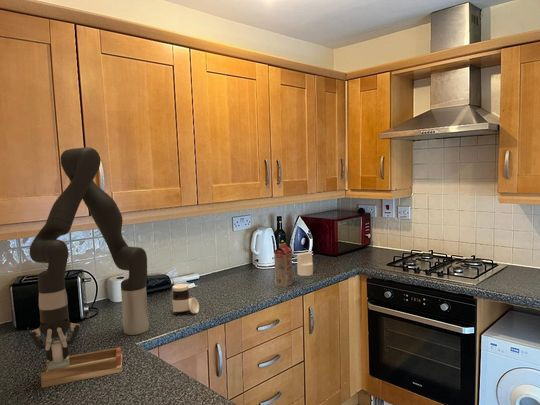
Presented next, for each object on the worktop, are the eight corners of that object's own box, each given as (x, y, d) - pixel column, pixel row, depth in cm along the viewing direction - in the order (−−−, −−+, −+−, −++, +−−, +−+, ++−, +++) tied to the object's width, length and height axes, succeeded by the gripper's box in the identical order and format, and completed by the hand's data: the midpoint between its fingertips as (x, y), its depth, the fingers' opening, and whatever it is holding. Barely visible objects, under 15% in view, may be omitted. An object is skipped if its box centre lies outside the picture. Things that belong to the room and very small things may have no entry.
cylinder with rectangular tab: (306, 270, 232) (306, 251, 231) (316, 274, 225) (315, 253, 223) (294, 273, 228) (293, 253, 227) (303, 276, 220) (302, 255, 219)
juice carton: (275, 285, 206) (274, 244, 204) (282, 281, 211) (280, 242, 209) (286, 287, 202) (284, 245, 200) (292, 283, 208) (291, 243, 206)
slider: (52, 368, 122) (49, 340, 121) (69, 364, 123) (67, 337, 123) (48, 377, 116) (45, 348, 115) (67, 373, 118) (64, 345, 117)
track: (48, 371, 123) (47, 357, 123) (122, 357, 131) (121, 344, 130) (41, 387, 114) (40, 373, 114) (121, 371, 121) (120, 358, 121)
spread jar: (172, 308, 176) (171, 283, 175) (198, 305, 179) (196, 281, 178) (173, 318, 164) (171, 291, 163) (200, 315, 167) (198, 288, 166)
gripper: (80, 297, 124) (84, 349, 125) (29, 304, 119) (34, 358, 121) (77, 305, 117) (82, 360, 118) (23, 312, 112) (29, 369, 114)
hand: (58, 358), depth 119 cm, fingers closed on slider, 3 cm apart
